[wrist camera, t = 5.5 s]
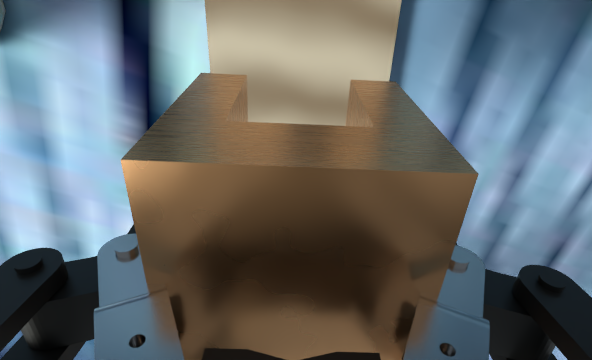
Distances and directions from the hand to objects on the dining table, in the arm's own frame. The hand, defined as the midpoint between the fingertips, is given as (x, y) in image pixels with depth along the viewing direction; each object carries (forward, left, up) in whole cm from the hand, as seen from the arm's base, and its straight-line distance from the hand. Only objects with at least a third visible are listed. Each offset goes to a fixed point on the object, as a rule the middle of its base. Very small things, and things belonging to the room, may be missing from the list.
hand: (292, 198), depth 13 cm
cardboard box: (0, 0, -1) cm, 1 cm away
